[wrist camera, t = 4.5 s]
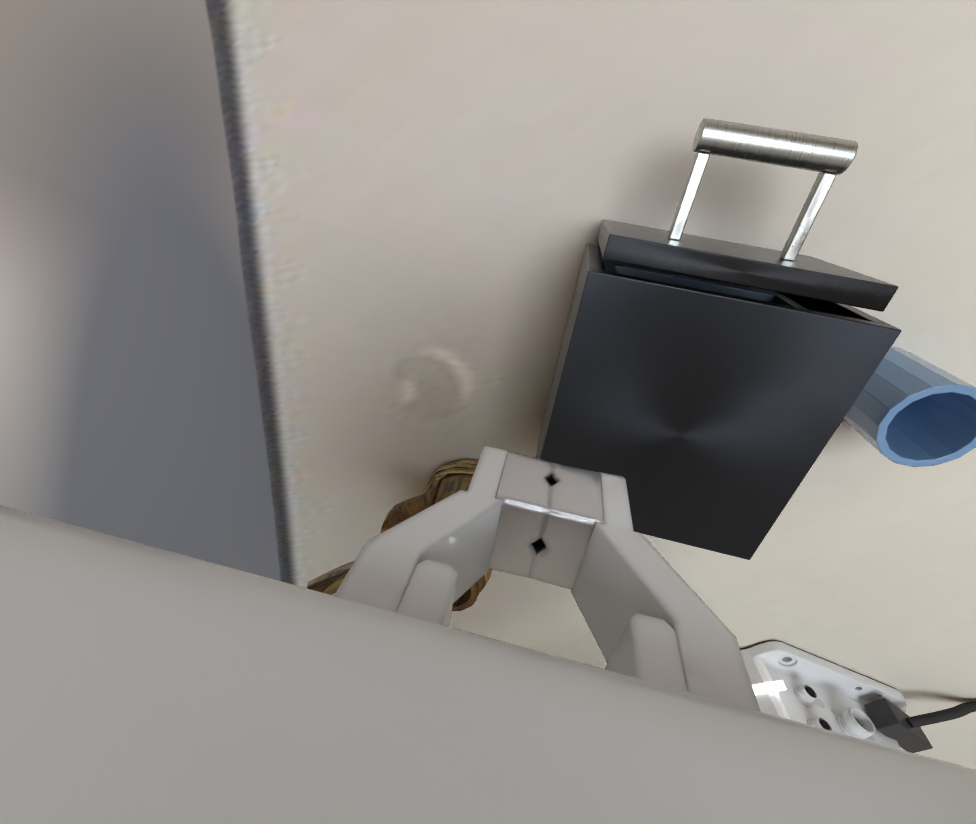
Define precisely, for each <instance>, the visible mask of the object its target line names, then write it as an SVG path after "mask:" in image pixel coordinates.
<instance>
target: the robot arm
mask: <svg viewBox="0 0 976 824" xmlns="http://www.w3.org/2000/svg"><path fill="white" fill-rule="evenodd" d="M507 453H508V454H507ZM489 569H493V570H498V571H502V572H506V573H511V574H515V575H520V576H524V577H529V578H532V579H536V580H539V581H543V582H546V583H550V584H553V585H557V586H560V587H564V588H568V589H571V593H572V594H573V596H574V598H575V600H576V602H577V604H578V606H579V608H580V610H581V612H582V614H583V616H584V618H585V620H586V622H587V624H588V626H589V628H590V630H591V632H592V634H593V636H594V638H595V640H596V642H597V643H598V645H599V647H600V649H601V651H602V653H603V655H604V657H605V659H606V661H607V663H608V664H607V666H606V668H605V669H602V668H598V667H595V666H591V665H587V664H584V663H580V662H576V661H572V660H569V659H565V658H561V657H558V656H554V655H550V654H547V653H543V652H539V651H536V650H532V649H528V648H525V647H521V646H517V645H514V644H510V643H506V642H503V641H499V640H495V639H491V638H488V637H484V636H480V635H477V634H473V633H469V632H466V631H462V630H458V629H455V628H451V627H449V625H450V619H451V613H452V606H453V603H454V602H455V601H456V600H458V599H459V598H460V597H461V596H462V595H463V594H464V593H465V592H466V591H467V590H468V589H469V588H470V587H472V586H473V585H474V584H475V583H476V582H477V581H478V580H479V579H480V578H481V577H482V576H483V575H484V574H486V573H487V572H488V570H489ZM975 711H976V701H970V702H965V703H962V704H959V705H957V706H955V707H952V708H949V709H945V710H941V711H937V712H932V713H927V714H923V715H918V716H913V717H909V716H908V715H907V714H905V712H906V701H905V699H904V697H903V695H902V693H901V692H900V691H898V690H896V689H894V688H892V687H889V686H887V685H884V684H882V683H879V682H877V681H875V680H872V679H870V678H867V677H865V676H862V675H860V674H858V673H855V672H853V671H850V670H848V669H845V668H843V667H841V666H838V665H836V664H833V663H831V662H828V661H826V660H824V659H821V658H819V657H816V656H814V655H811V654H809V653H807V652H804V651H802V650H799V649H797V648H794V647H792V646H790V645H787V644H785V643H782V642H778V641H770V642H765V643H762V644H759V645H756V646H753V647H751V648H748V649H743V650H740V648H739V645H738V642H737V639H736V637H735V635H734V634H733V633H732V632H731V631H730V630H729V629H728V628H727V627H726V626H725V625H724V623H723V622H722V621H721V620H720V619H719V618H718V617H717V616H716V615H715V614H714V613H713V611H712V610H711V609H710V608H709V607H708V606H707V605H706V604H705V603H704V602H703V600H702V599H701V598H700V597H699V596H698V595H697V594H696V593H695V592H694V591H693V590H692V588H691V587H690V586H689V585H688V584H687V583H686V582H685V581H684V580H683V579H682V578H681V576H680V575H679V574H678V573H677V572H676V571H675V570H674V569H673V568H672V567H671V566H670V564H669V563H668V562H667V561H666V560H665V559H664V558H663V557H662V556H661V555H660V553H659V552H658V551H657V550H656V549H655V548H654V547H653V546H652V545H651V544H650V543H649V541H648V540H647V539H646V538H645V537H644V536H643V535H642V534H641V533H638V532H634V531H633V524H632V518H631V511H630V505H629V498H628V492H627V485H626V480H625V478H624V477H622V476H617V475H612V474H607V473H602V472H594V471H590V470H585V469H580V468H576V467H571V466H566V465H561V464H557V463H553V462H551V461H546V460H542V459H538V458H534V457H530V456H526V455H522V454H518V453H514V452H510V451H508V452H507V450H502V449H498V448H493V447H489V446H485V447H484V448H483V450H482V453H481V455H480V458H479V461H478V464H477V466H476V469H475V472H474V475H473V477H472V480H471V483H470V485H469V488H468V491H462V490H460V491H458V492H456V493H454V494H453V495H451V496H449V497H447V498H445V499H443V500H441V501H440V502H438V503H436V504H434V505H432V506H430V507H429V508H427V509H425V510H423V511H421V512H419V513H418V514H416V515H414V516H412V517H410V518H408V519H407V520H405V521H403V522H401V523H399V524H397V525H395V526H394V527H392V528H390V529H388V530H386V531H384V532H383V533H381V534H379V535H377V536H375V537H373V538H372V539H370V540H368V541H366V543H365V545H364V546H363V548H362V550H361V551H360V553H359V555H358V556H357V558H356V560H355V561H354V563H353V565H352V566H351V568H350V570H349V571H348V573H347V575H346V576H345V578H344V580H343V581H342V583H341V585H340V586H339V588H338V590H337V591H336V593H335V595H334V596H333V595H329V594H325V593H322V592H318V591H314V590H311V589H307V588H303V587H300V586H296V585H292V584H289V583H285V582H281V581H277V580H274V579H270V578H266V577H263V576H259V575H255V574H251V573H248V572H244V571H241V570H237V569H233V568H230V567H226V566H222V565H218V564H215V563H211V562H208V561H204V560H200V559H196V558H193V557H188V556H185V555H182V554H178V553H174V552H171V551H167V550H163V549H159V548H156V547H152V546H148V545H145V544H141V543H138V542H134V541H130V540H126V539H123V538H119V537H115V536H112V535H108V534H104V533H100V532H97V531H93V530H90V529H86V528H82V527H78V526H75V525H71V524H68V523H64V522H60V521H56V520H53V519H49V518H45V517H42V516H38V515H34V514H31V513H27V512H23V511H20V510H16V509H12V508H9V507H5V506H1V505H0V824H976V770H974V769H970V768H967V767H963V766H959V765H955V764H952V763H948V762H944V761H941V760H937V759H933V758H930V757H926V756H922V755H919V754H915V752H919V751H923V750H927V749H931V748H933V747H932V746H931V744H930V742H929V741H928V739H927V737H926V736H925V734H924V733H923V731H922V729H921V728H920V726H924V725H929V724H934V723H939V722H943V721H948V720H952V719H956V718H959V717H962V716H965V715H967V714H969V713H971V712H975ZM899 746H900V747H902V748H903V749H904V750H906V751H904V750H900V747H899Z"/></svg>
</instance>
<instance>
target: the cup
mask: <svg viewBox="0 0 976 824" xmlns="http://www.w3.org/2000/svg"><path fill="white" fill-rule="evenodd" d="M843 419H844V420H845V421H847V422H848V423H849V424H850V425H851V426H852V427H853V428H854V429H855V430H856V431H857V432H859V433H860V434H861V435H862V436H863V437H864V438H865V439H866V440H867V441H868V442H869V443H870V444H872V445H873V446H874V447H875V448H876V449H877V450H878V451H879V452H880V453H881V454H883V455H884V456H885V457H887V458H888V459H890V460H891V461H893V462H894V463H898V464H902V465H907V466H911V467H921V466H935V465H939V464H942V463H945V462H948V461H951V460H954V459H957V458H960V457H961V456H963V455H964V454H966V453H968V452H969V451H971V450H972V449H974V448H976V387H974V386H972V385H970V384H968V383H966V382H964V381H963V380H961V379H959V378H957V377H955V376H953V375H951V374H949V373H947V372H946V371H944V370H942V369H940V368H938V367H936V366H934V365H932V364H931V363H929V362H927V361H925V360H923V359H921V358H919V357H917V356H916V355H914V354H912V353H910V352H907V351H904V350H902V349H899V348H895V347H890V349H889V351H888V352H887V354H886V355H885V357H884V358H883V360H882V361H881V363H880V364H879V366H878V367H877V369H876V370H875V372H874V373H873V375H872V376H871V378H870V379H869V381H868V382H867V384H866V385H865V387H864V388H863V390H862V391H861V393H860V394H859V396H858V397H857V399H856V400H855V402H854V403H853V405H852V406H851V408H850V409H849V411H848V412H847V414H846V415H845V417H844V418H843Z"/></svg>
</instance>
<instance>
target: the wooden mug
mask: <svg viewBox="0 0 976 824" xmlns="http://www.w3.org/2000/svg"><path fill="white" fill-rule="evenodd" d="M477 464H478V461H476V460H468V459H465V460H459V461H453V462H451V463H449V464H446V465H444V466H442V467H440V468H438V469H437V470H436V471H435V472H434V473H433V475H432V477H431V479H430V482H429V484H428V487H427V489H426V493H425V494H423V495H420V496H417V497H414V498H411V499H408V500H406V501H404V502H402V503H399V504H397V505H395V506H394V507H393V509H392V510H391V511H390V512H389V513H388V514H387V516H386V518H385V521H384V523H383V525H382V528H381V533H383V532H384V531H386V530H388V529H390V528H392V527H394V526H395V525H397V524H399V523H401V522H403V521H405V520H407V519H408V518H410V517H412V516H414V515H416V514H418V513H419V512H421V511H423V510H425V509H427V508H429V507H430V506H432V505H434V504H436V503H438V502H440V501H441V500H443V499H445V498H447V497H449V496H451V495H453V494H454V493H456V492H458V491H460V490H462V491H468V488H469V485H470V483H471V480H472V477H473V475H474V472H475V469H476V466H477ZM353 563H354V561H352V562H350V563H347V564H345V565H342V566H340V567H338V568H336V569H334V570H331V571H329V572H327V573H325V574H323V575H321V576H319V577H317V578H315V579H313V580H311V581H310V582H308V586H307V589H311V590H314V591H318V592H322V593H325V594H329V595H332V594H334V593H336V591H337V590H338V588H339V586H340V585H341V583H342V581H343V580H344V578H345V576H346V575H347V573H348V571H349V570H350V568H351V566H352V565H353ZM491 572H492V569H489V570H488V572H487V573H486V574H484V575H483V576H482V577H481V578H480V579H479V580H478V581H477V582H476V583H475V584H474V585H473V586H472V587H470V588H469V589H468V590H467V591H466V592H465V593H464V594H463V595H462V596H461V597H460V598H459V599H458V600H456V601H455V602H454V603H453V606H452V611H461V610H464V609H466V608H468V607H470V606H472V605H473V604H474V602H475V601H476V599H477V597H478V595H479V592H481V590H482V589H483V588H484V586H485V585H486V583H487V581H488V580H489V578H490V575H491Z"/></svg>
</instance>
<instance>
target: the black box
mask: <svg viewBox="0 0 976 824" xmlns="http://www.w3.org/2000/svg"><path fill="white" fill-rule="evenodd" d="M602 261H607V262H612V263H617V264H623V265H628V266H633V267H639V268H644V269H649V270H655V271H660V272H665V273H671V274H676V275H681V276H687V277H692V278H697V279H702V280H708V281H713V282H718V283H724V284H729V285H734V286H740V287H745V288H750V289H756V290H761V291H766V292H772V293H777V294H782V295H784V296H786V297H787V298H789V299H791V300H793V301H794V302H796V303H798V304H799V305H801V306H803V307H805V308H806V309H802V308H797V307H792V306H787V305H781V304H776V303H771V302H766V301H760V300H755V299H750V298H745V297H739V296H734V295H729V294H724V293H718V292H713V291H708V290H703V289H697V288H692V287H687V286H682V285H676V284H671V283H666V282H661V281H655V280H650V279H645V278H640V277H634V276H629V275H624V274H619V273H613V272H608V271H603V267H602ZM900 332H901V330H900V329H898V328H896V327H894V326H891V325H889V324H887V323H885V322H883V321H881V320H879V319H877V318H875V317H873V316H870V315H868V314H866V313H864V312H862V311H860V310H858V309H856V308H854V307H852V306H849V305H845V304H839V303H834V302H829V301H823V300H818V299H813V298H807V297H802V296H797V295H791V294H786V293H781V292H775V291H770V290H765V289H759V288H754V287H749V286H743V285H738V284H733V283H727V282H722V281H717V280H711V279H706V278H701V277H695V276H690V275H685V274H679V273H674V272H669V271H664V270H658V269H653V268H648V267H642V266H637V265H632V264H626V263H621V262H616V261H610V260H605V259H603V257H602V253H601V249H600V245H596V244H590V243H587V244H586V248H585V252H584V256H583V260H582V264H581V268H580V272H579V276H578V280H577V284H576V288H575V292H574V296H573V300H572V304H571V308H570V312H569V316H568V320H567V324H566V328H565V332H564V336H563V340H562V344H561V348H560V352H559V356H558V360H557V364H556V368H555V373H554V377H553V381H552V385H551V389H550V393H549V397H548V401H547V405H546V409H545V413H544V417H543V421H542V425H541V430H540V436H539V442H538V448H537V454H536V458H538V459H542V460H546V461H551V462H553V463H557V464H561V465H566V466H571V467H576V468H580V469H585V470H590V471H594V472H602V473H607V474H612V475H617V476H622V477H624V478H625V480H626V485H627V492H628V498H629V505H630V511H631V518H632V524H633V531H634V532H638V533H642V534H646V535H650V536H654V537H658V538H662V539H667V540H671V541H675V542H679V543H683V544H687V545H691V546H695V547H699V548H703V549H707V550H711V551H715V552H719V553H723V554H727V555H731V556H735V557H740V558H744V559H748V560H750V559H751V557H752V556H753V554H754V553H755V551H756V550H757V548H758V546H759V545H760V543H761V542H762V540H763V539H764V537H765V536H766V534H767V533H768V531H769V530H770V528H771V527H772V525H773V524H774V522H775V521H776V519H777V518H778V516H779V515H780V513H781V512H782V510H783V509H784V507H785V506H786V504H787V503H788V501H789V500H790V498H791V497H792V495H793V494H794V492H795V491H796V489H797V488H798V486H799V485H800V483H801V482H802V480H803V479H804V477H805V476H806V474H807V473H808V471H809V470H810V468H811V467H812V465H813V464H814V462H815V461H816V459H817V458H818V456H819V455H820V453H821V452H822V450H823V448H824V447H825V445H826V444H827V442H828V441H829V439H830V438H831V436H832V435H833V433H834V432H835V430H836V429H837V427H838V426H839V424H840V423H841V421H842V420H843V418H844V417H845V415H846V414H847V412H848V411H849V409H850V408H851V406H852V405H853V403H854V402H855V400H856V399H857V397H858V396H859V394H860V393H861V391H862V390H863V388H864V387H865V385H866V384H867V382H868V381H869V379H870V378H871V376H872V375H873V373H874V372H875V370H876V369H877V367H878V366H879V364H880V363H881V361H882V360H883V358H884V357H885V355H886V354H887V352H888V351H889V349H890V347H891V346H892V344H893V343H894V341H895V340H896V338H897V337H898V335H899V334H900Z"/></svg>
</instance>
